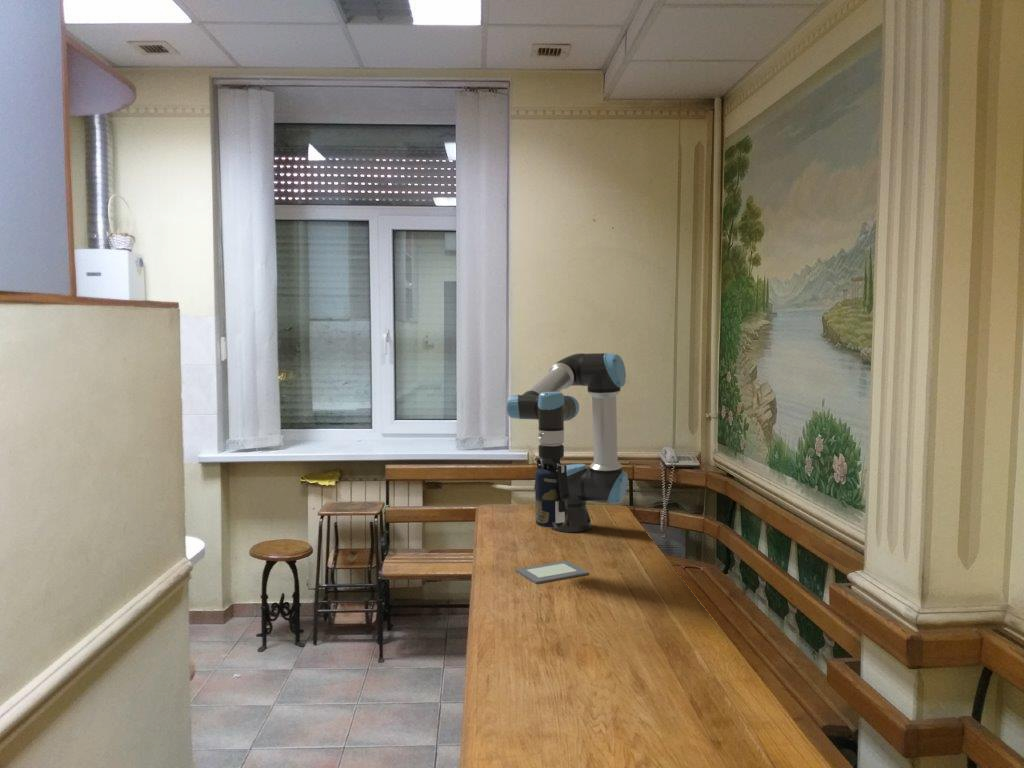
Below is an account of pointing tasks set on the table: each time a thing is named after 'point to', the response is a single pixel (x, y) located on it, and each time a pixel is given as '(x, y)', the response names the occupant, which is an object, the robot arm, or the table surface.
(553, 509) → the canister
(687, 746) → the table surface
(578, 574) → the mat
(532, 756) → the table surface
